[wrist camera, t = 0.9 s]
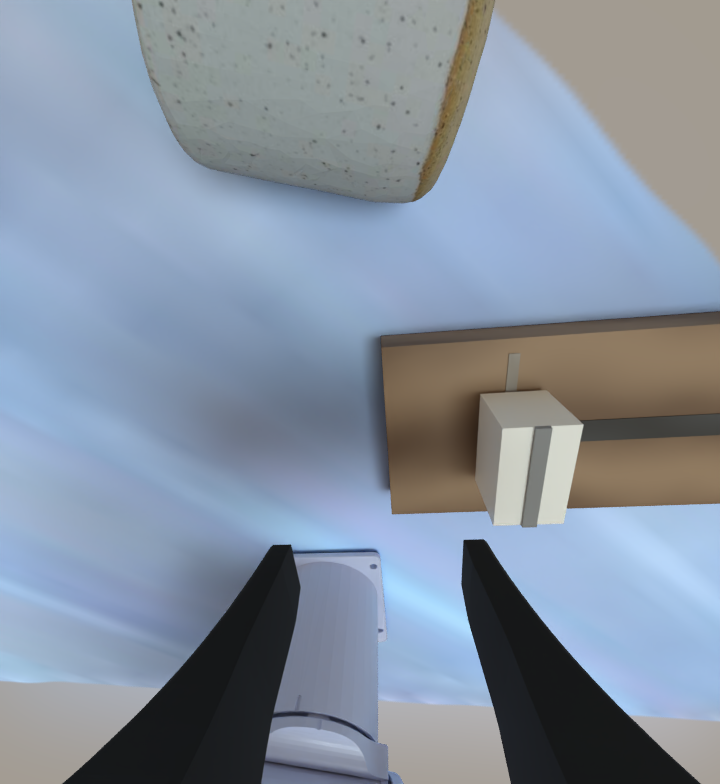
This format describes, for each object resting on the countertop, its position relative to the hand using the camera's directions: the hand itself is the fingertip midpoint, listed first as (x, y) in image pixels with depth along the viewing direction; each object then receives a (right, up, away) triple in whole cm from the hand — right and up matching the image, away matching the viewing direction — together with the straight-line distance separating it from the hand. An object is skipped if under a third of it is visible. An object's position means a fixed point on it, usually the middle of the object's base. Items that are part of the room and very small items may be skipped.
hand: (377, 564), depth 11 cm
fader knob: (+7, +3, +6) cm, 10 cm away
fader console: (+13, +5, +8) cm, 16 cm away
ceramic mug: (-1, +19, +2) cm, 19 cm away
